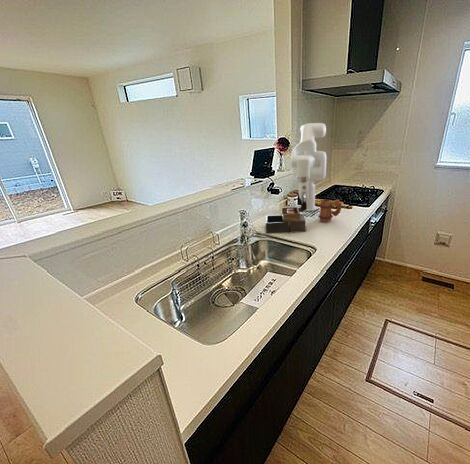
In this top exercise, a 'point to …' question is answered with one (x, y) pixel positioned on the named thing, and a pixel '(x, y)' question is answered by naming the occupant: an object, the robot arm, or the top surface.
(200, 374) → the top surface
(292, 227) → the stand
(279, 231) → the basket
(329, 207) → the mug
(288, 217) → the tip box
